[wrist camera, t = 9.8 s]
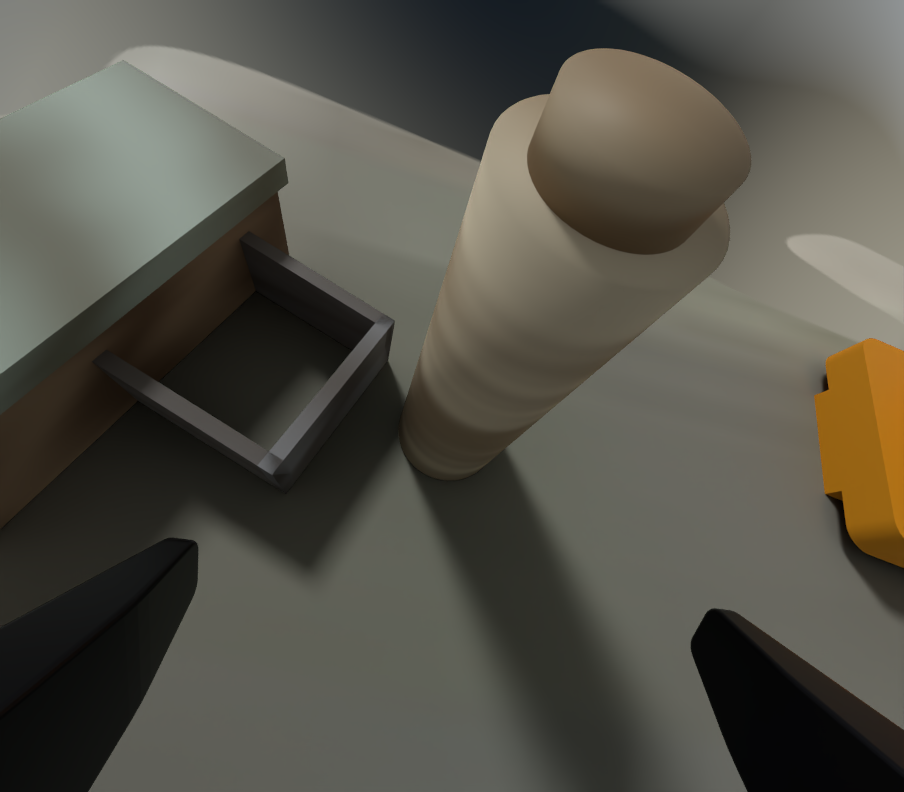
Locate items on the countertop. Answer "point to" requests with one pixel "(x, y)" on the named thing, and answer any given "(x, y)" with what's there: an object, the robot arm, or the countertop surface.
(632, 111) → the wooden pepper mill
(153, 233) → the green slab with socket
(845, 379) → the bracket
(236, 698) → the countertop surface
